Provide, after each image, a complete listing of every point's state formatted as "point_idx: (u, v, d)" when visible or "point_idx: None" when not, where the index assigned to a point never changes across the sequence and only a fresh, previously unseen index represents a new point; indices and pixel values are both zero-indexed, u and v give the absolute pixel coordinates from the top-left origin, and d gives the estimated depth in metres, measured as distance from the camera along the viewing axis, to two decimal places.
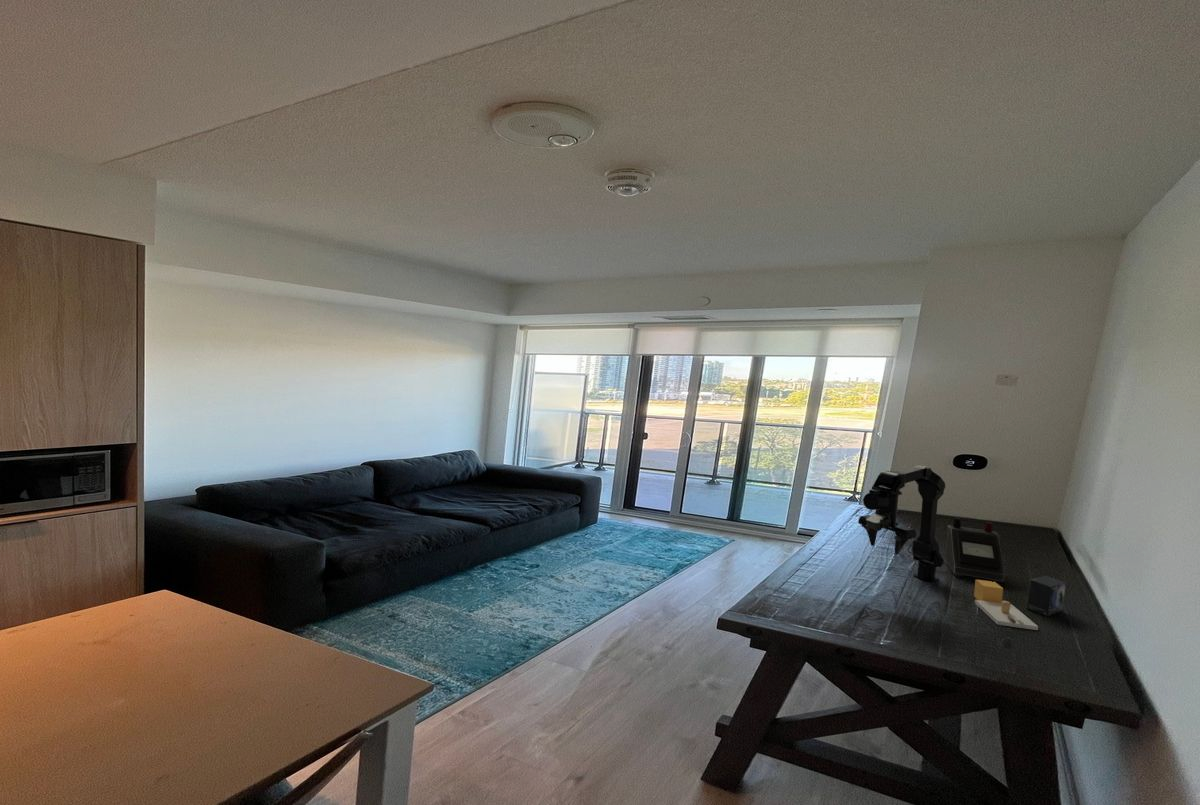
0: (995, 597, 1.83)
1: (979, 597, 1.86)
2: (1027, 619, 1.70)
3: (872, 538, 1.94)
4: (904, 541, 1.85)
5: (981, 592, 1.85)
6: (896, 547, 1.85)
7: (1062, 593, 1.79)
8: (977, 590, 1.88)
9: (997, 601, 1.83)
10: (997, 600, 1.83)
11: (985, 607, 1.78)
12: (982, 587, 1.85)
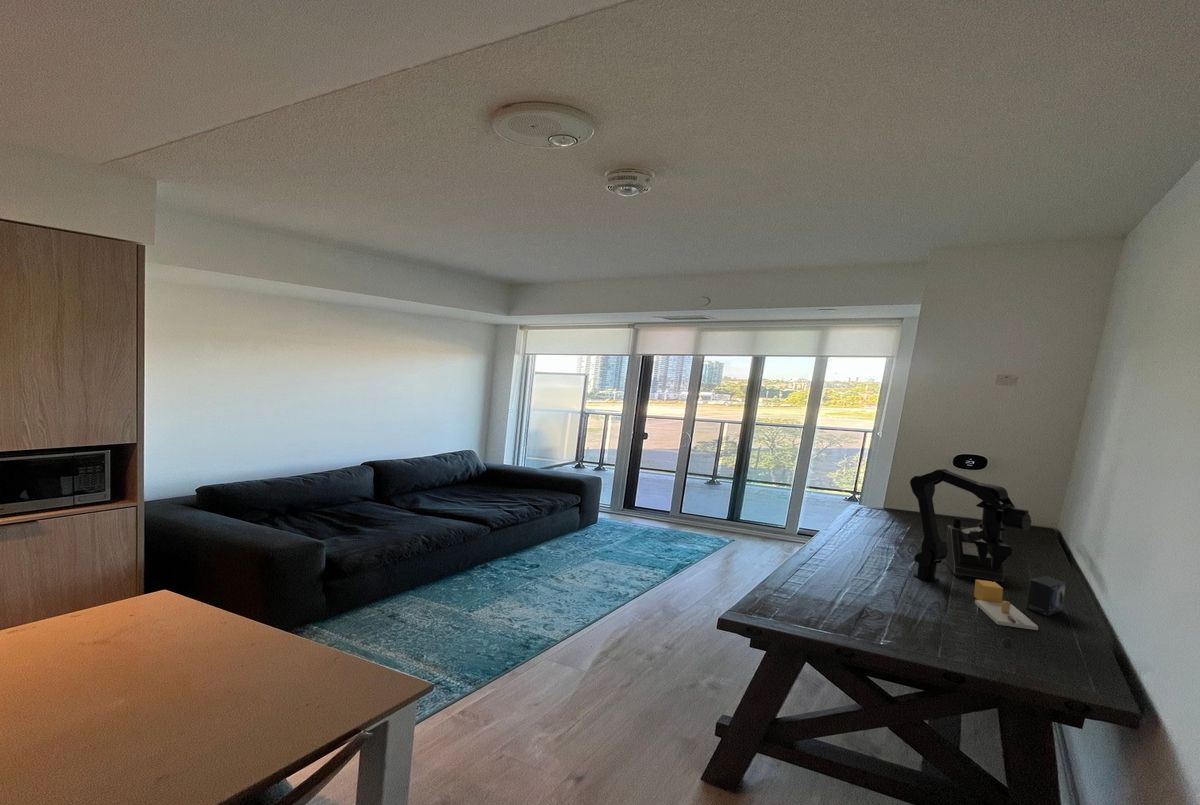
0: (995, 597, 1.83)
1: (979, 597, 1.86)
2: (1027, 619, 1.70)
3: (980, 554, 1.90)
4: (1002, 558, 1.79)
5: (981, 592, 1.85)
6: (991, 563, 1.81)
7: (1062, 593, 1.79)
8: (977, 590, 1.88)
9: (997, 601, 1.83)
10: (997, 600, 1.83)
11: (985, 607, 1.78)
12: (982, 587, 1.85)
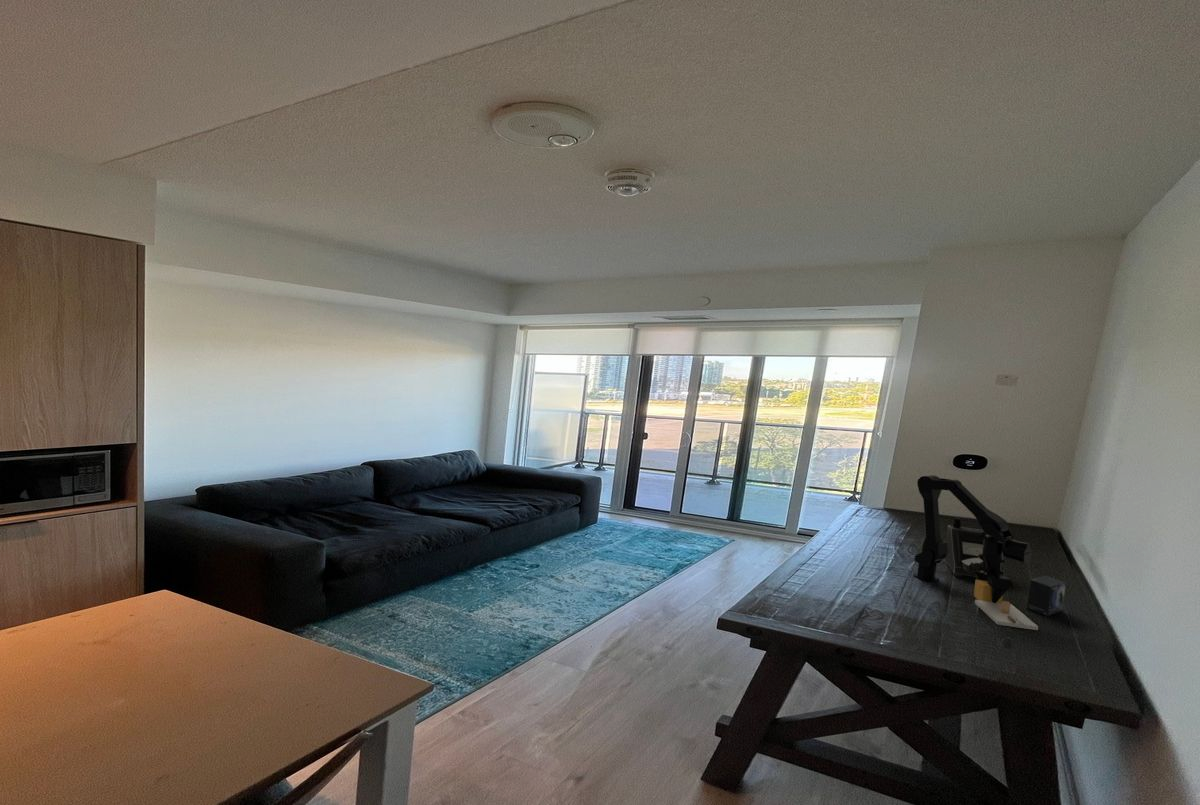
0: None
1: (979, 597, 1.86)
2: (1027, 619, 1.70)
3: None
4: (1002, 591, 1.80)
5: (981, 592, 1.85)
6: (992, 595, 1.82)
7: (1062, 593, 1.79)
8: (977, 590, 1.88)
9: (997, 601, 1.83)
10: None
11: (985, 607, 1.78)
12: (982, 587, 1.85)
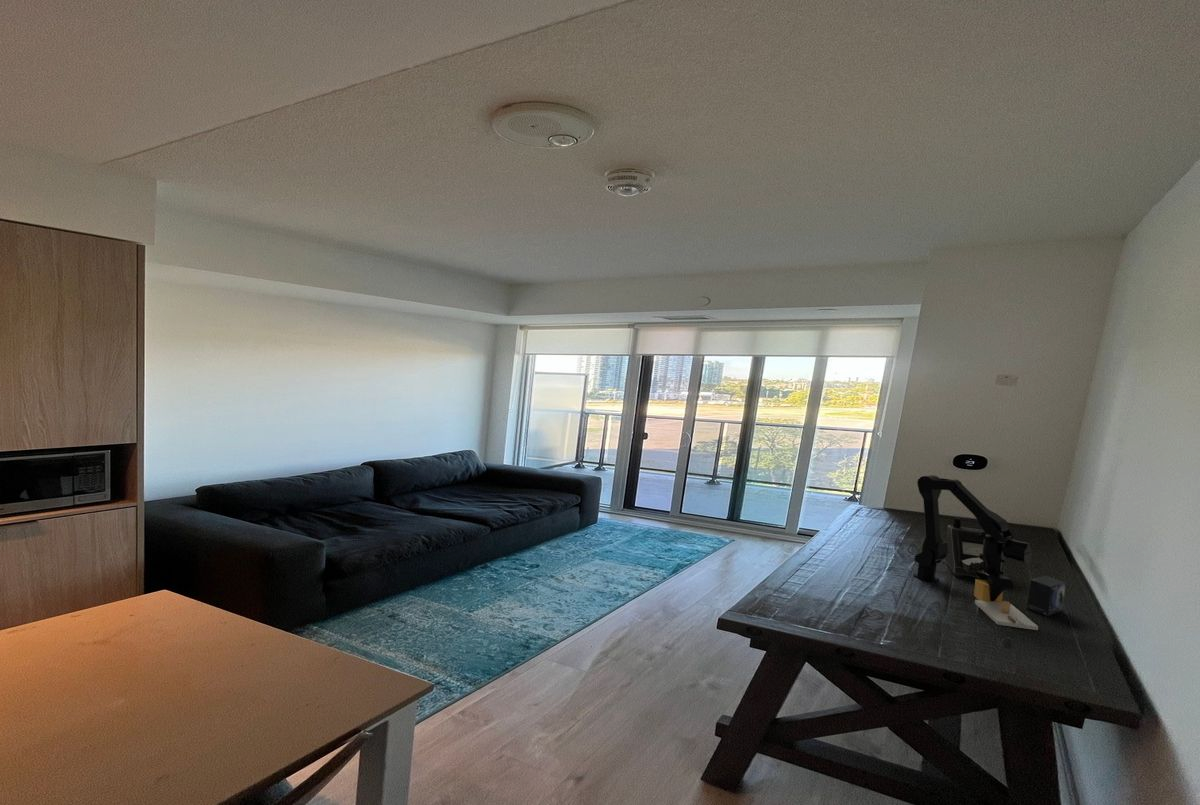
0: None
1: (979, 597, 1.86)
2: (1027, 619, 1.70)
3: None
4: (1000, 589, 1.81)
5: (981, 592, 1.85)
6: (990, 593, 1.83)
7: (1062, 593, 1.79)
8: (977, 590, 1.88)
9: (997, 601, 1.83)
10: (997, 600, 1.83)
11: (985, 607, 1.78)
12: (982, 587, 1.85)
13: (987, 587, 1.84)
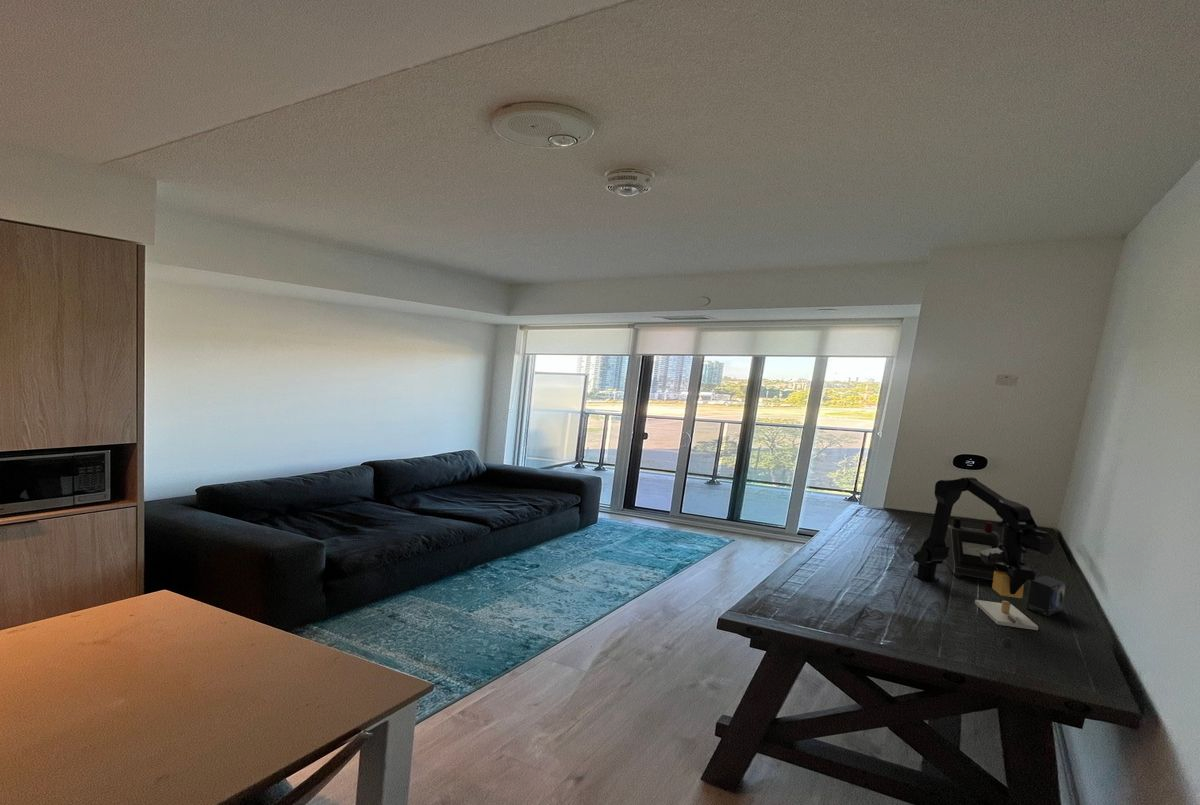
0: None
1: (998, 589, 1.74)
2: (1027, 619, 1.70)
3: None
4: (1021, 581, 1.69)
5: (1000, 584, 1.73)
6: (1010, 585, 1.71)
7: (1062, 593, 1.79)
8: (996, 582, 1.76)
9: (1018, 594, 1.71)
10: (1018, 592, 1.71)
11: (985, 607, 1.78)
12: (1002, 579, 1.72)
13: (1007, 579, 1.72)
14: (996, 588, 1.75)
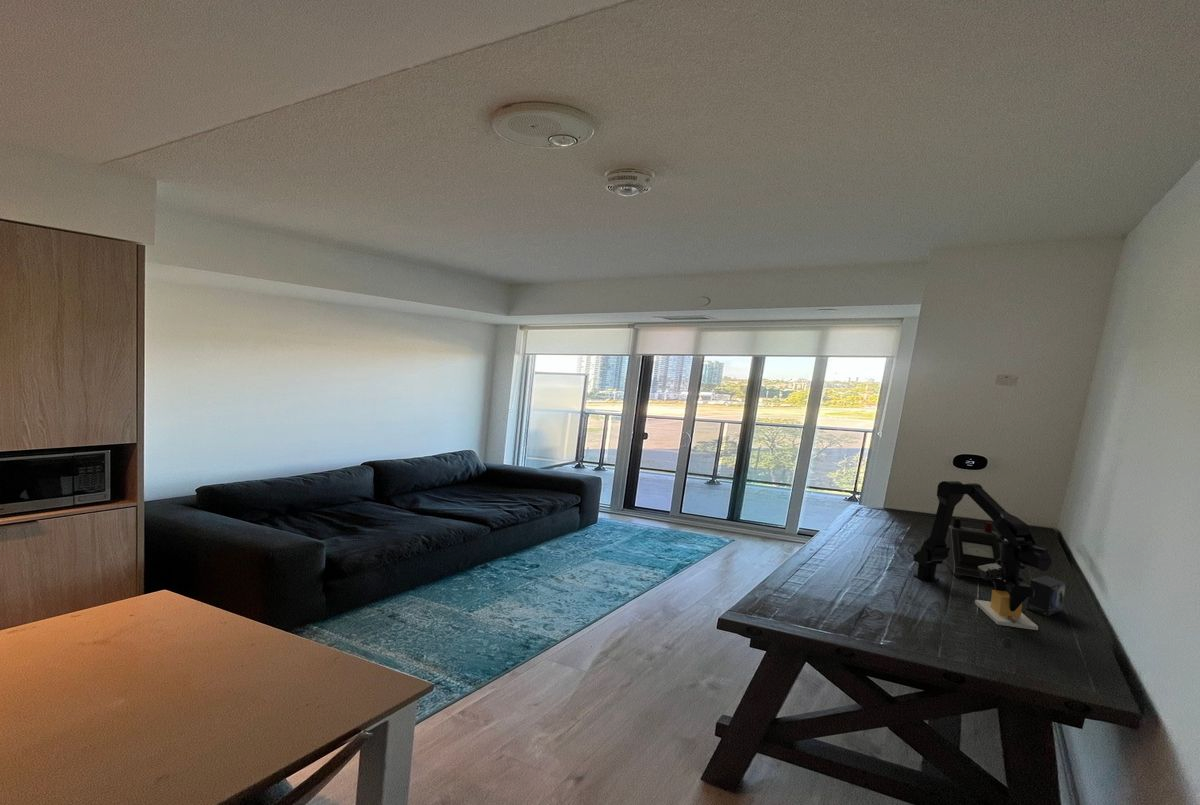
0: None
1: (996, 609, 1.74)
2: (1027, 619, 1.70)
3: None
4: (1021, 598, 1.69)
5: (998, 603, 1.73)
6: (1010, 602, 1.70)
7: (1062, 593, 1.79)
8: (994, 601, 1.76)
9: (1016, 613, 1.71)
10: (1016, 612, 1.71)
11: (985, 607, 1.78)
12: (1000, 598, 1.73)
13: (1005, 599, 1.72)
14: (994, 607, 1.76)
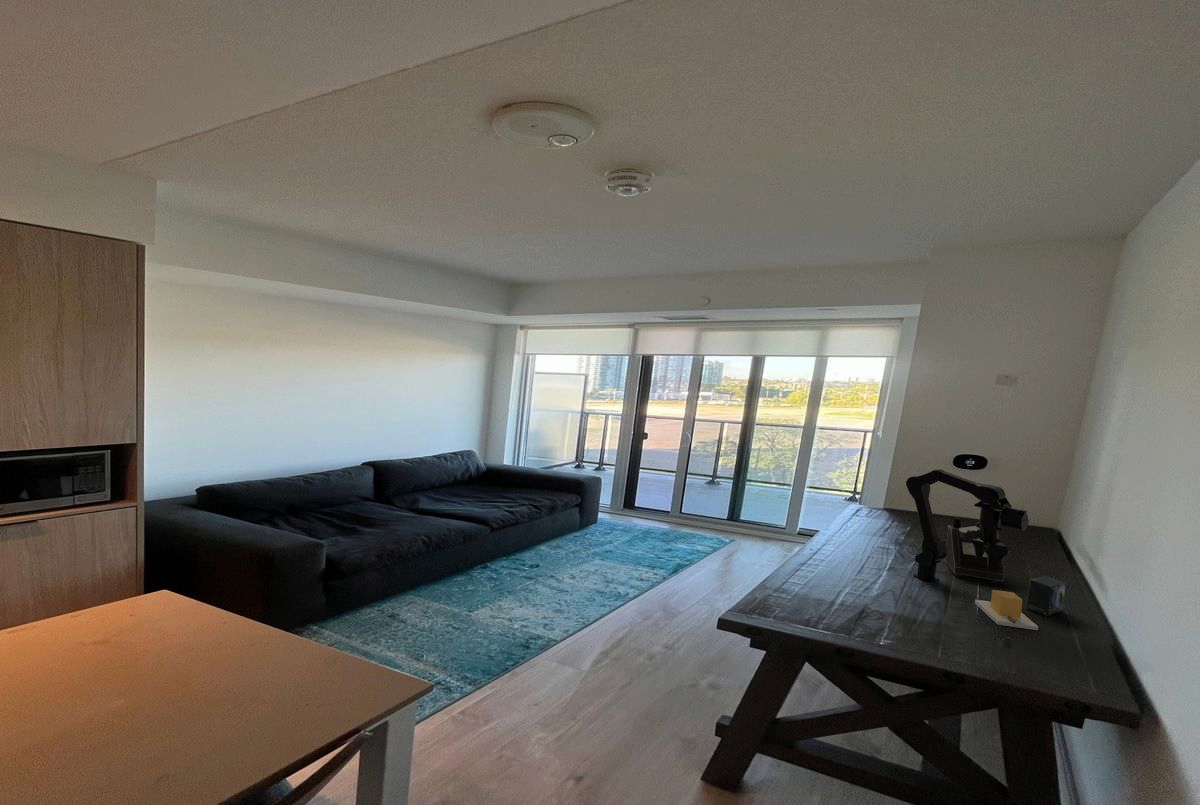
0: (1014, 609, 1.72)
1: (996, 609, 1.74)
2: (1027, 619, 1.70)
3: (977, 552, 1.93)
4: (998, 558, 1.82)
5: (998, 603, 1.73)
6: (987, 562, 1.83)
7: (1062, 593, 1.79)
8: (994, 601, 1.76)
9: (1016, 613, 1.71)
10: (1016, 612, 1.71)
11: (985, 607, 1.78)
12: (1000, 598, 1.73)
13: (1005, 599, 1.72)
14: (994, 607, 1.76)
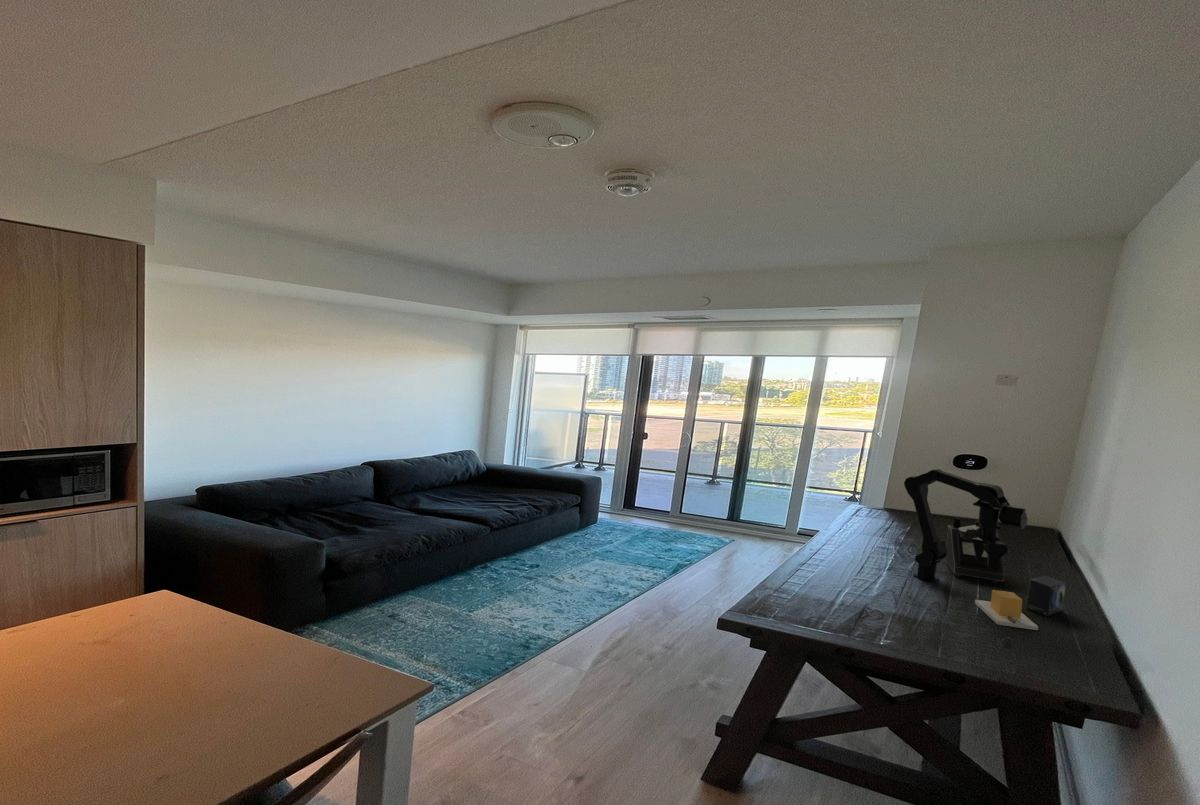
0: (1014, 609, 1.72)
1: (996, 609, 1.74)
2: (1027, 619, 1.70)
3: (977, 551, 1.93)
4: (998, 556, 1.82)
5: (998, 603, 1.73)
6: (988, 560, 1.84)
7: (1062, 593, 1.79)
8: (994, 601, 1.76)
9: (1016, 613, 1.71)
10: (1016, 612, 1.71)
11: (985, 607, 1.78)
12: (1000, 598, 1.73)
13: (1005, 599, 1.72)
14: (994, 607, 1.76)
